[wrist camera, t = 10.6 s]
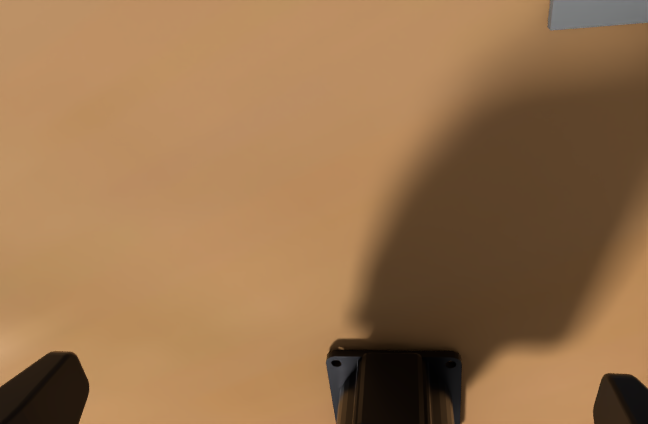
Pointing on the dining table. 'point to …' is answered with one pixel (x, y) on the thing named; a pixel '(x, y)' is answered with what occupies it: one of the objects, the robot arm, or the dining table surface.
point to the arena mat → (596, 13)
